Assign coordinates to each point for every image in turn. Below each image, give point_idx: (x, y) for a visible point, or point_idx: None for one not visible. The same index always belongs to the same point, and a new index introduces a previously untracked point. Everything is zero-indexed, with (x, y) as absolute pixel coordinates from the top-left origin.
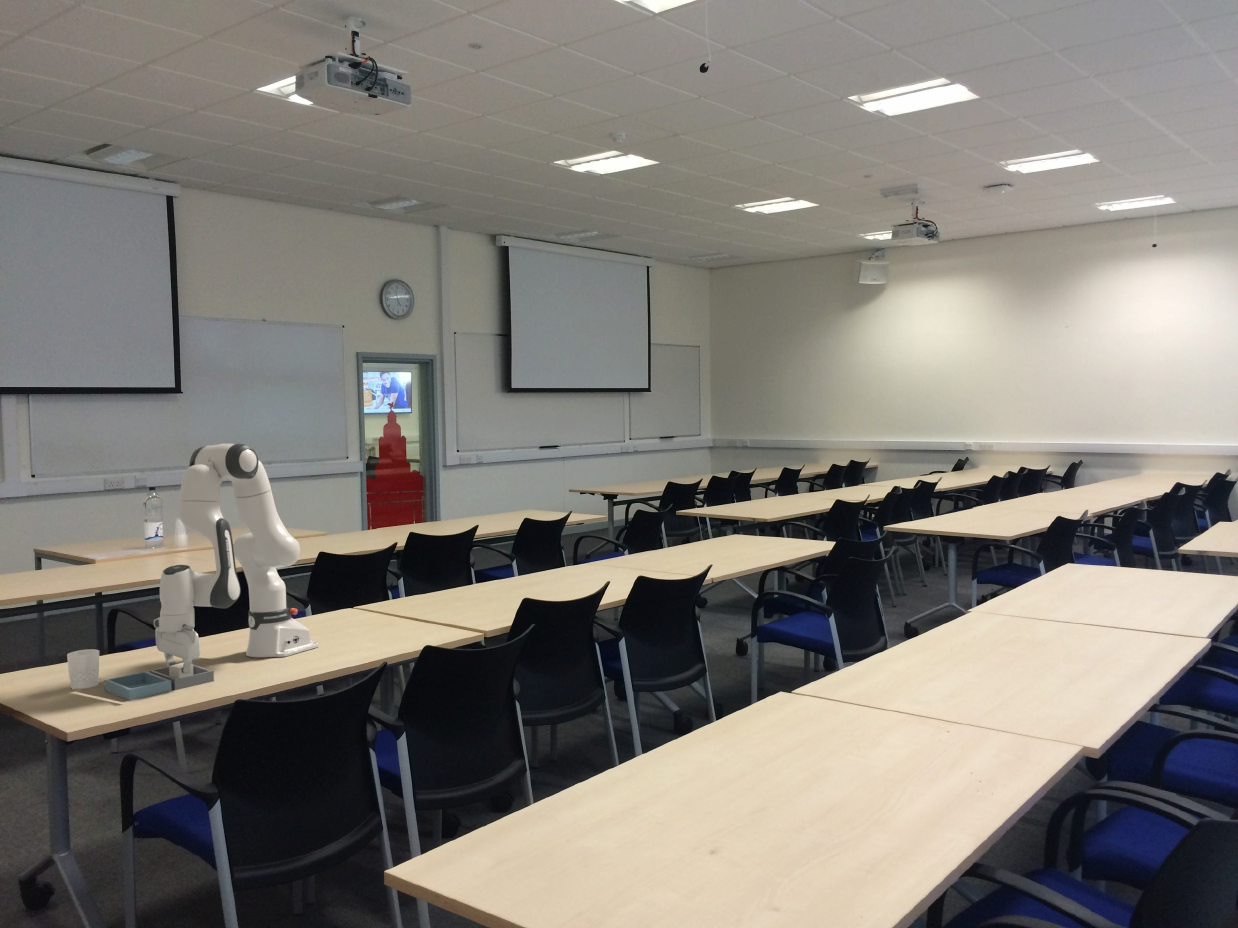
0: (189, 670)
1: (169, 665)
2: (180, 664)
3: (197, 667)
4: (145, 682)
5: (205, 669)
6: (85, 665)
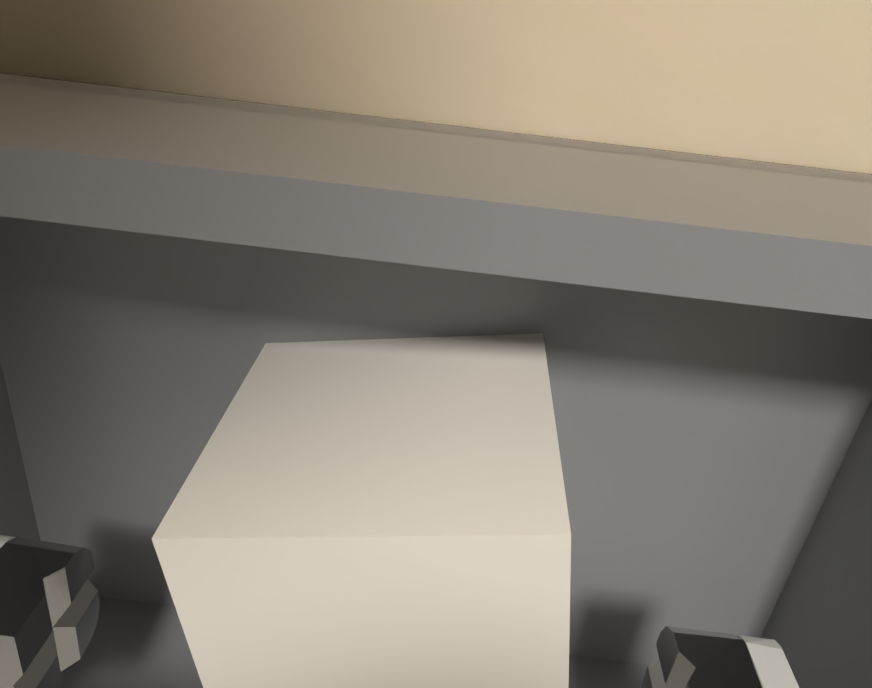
0: (790, 684)
1: (63, 669)
2: (300, 649)
3: (423, 260)
4: None
5: (837, 296)
6: None
